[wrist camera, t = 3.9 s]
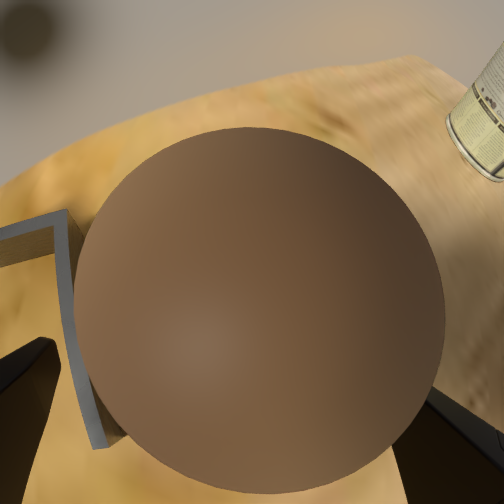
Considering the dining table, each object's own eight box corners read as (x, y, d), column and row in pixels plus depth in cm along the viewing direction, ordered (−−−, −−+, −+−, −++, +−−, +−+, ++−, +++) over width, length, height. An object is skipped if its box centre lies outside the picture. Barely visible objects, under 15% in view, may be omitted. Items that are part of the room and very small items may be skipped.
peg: (269, 353, 17) (471, 249, 4) (223, 420, 15) (340, 544, 2) (201, 306, 17) (233, 86, 4) (153, 372, 15) (3, 318, 3)
